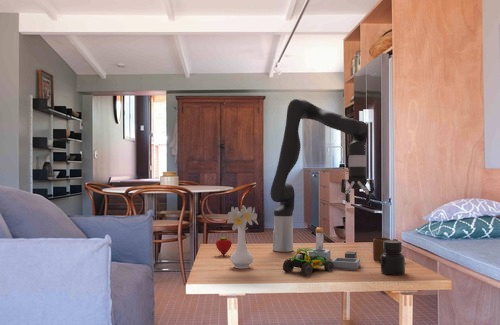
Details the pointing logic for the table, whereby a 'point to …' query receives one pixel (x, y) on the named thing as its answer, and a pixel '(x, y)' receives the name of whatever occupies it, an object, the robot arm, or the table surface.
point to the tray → (346, 263)
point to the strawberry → (223, 245)
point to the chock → (350, 254)
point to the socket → (320, 253)
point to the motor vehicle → (306, 262)
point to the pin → (319, 239)
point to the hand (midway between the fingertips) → (357, 202)
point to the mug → (379, 248)
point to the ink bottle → (392, 258)
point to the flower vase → (241, 235)
